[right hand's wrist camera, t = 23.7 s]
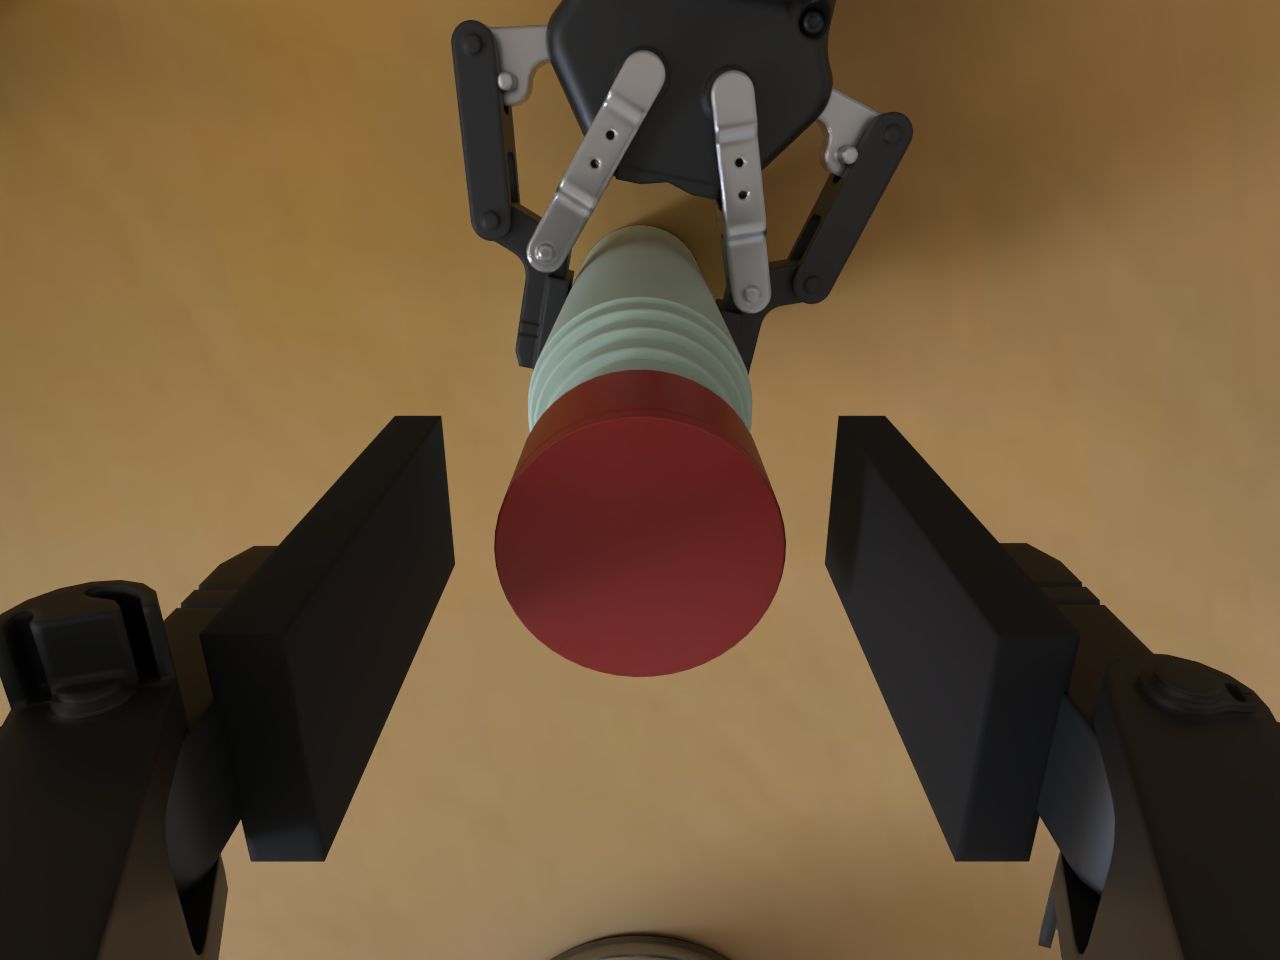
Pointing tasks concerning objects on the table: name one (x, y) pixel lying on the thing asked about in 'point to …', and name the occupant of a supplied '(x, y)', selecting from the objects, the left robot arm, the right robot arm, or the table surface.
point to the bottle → (640, 323)
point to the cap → (640, 526)
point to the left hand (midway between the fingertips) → (624, 395)
